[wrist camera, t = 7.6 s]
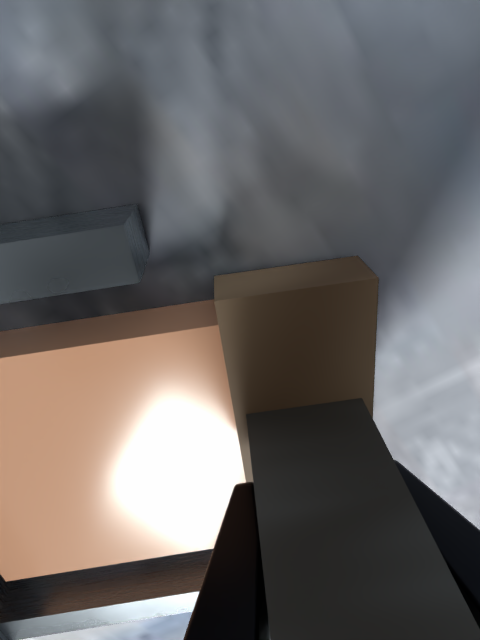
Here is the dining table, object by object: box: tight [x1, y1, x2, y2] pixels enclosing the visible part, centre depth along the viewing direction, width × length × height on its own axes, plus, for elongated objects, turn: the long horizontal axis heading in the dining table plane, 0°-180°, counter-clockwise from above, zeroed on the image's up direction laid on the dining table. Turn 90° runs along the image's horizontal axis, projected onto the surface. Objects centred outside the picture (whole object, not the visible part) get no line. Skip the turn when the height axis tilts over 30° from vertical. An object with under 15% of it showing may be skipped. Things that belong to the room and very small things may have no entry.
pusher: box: [214, 256, 480, 640], centre depth 7 cm, size 3×8×6 cm, turn 7°
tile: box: [0, 299, 246, 581], centre depth 10 cm, size 7×7×2 cm
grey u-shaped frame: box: [0, 204, 213, 640], centre depth 9 cm, size 8×12×3 cm, turn 7°
